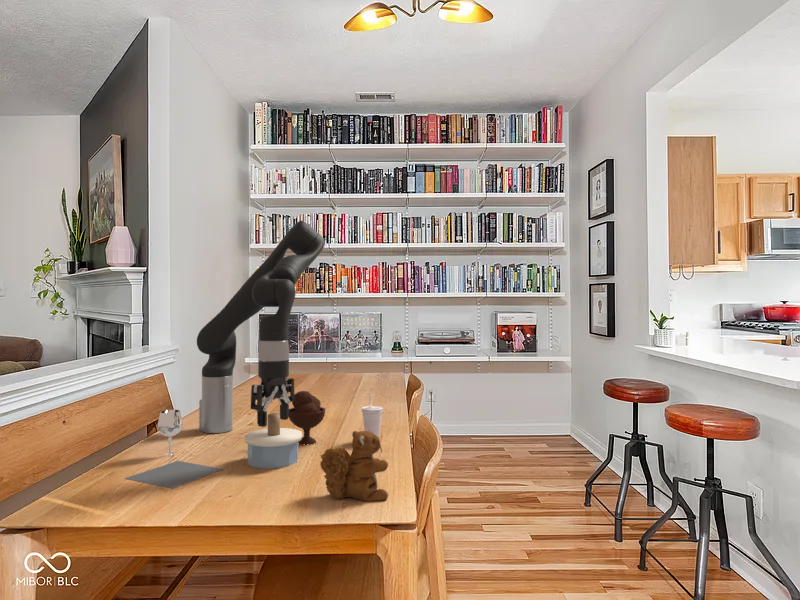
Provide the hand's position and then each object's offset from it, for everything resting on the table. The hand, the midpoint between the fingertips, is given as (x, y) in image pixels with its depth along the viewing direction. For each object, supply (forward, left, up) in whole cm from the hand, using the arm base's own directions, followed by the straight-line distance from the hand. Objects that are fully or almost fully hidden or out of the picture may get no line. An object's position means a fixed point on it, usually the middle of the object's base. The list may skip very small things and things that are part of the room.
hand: (273, 422), depth 136 cm
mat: (-14, -18, -10) cm, 25 cm away
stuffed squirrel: (+29, -10, -10) cm, 33 cm away
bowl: (0, 0, -10) cm, 10 cm away
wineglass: (-27, -8, -10) cm, 30 cm away
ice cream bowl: (-4, +20, -10) cm, 23 cm away
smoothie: (+12, +30, -10) cm, 34 cm away
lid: (0, 0, -4) cm, 4 cm away
